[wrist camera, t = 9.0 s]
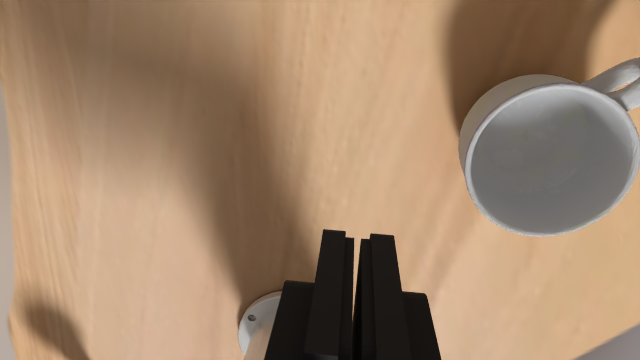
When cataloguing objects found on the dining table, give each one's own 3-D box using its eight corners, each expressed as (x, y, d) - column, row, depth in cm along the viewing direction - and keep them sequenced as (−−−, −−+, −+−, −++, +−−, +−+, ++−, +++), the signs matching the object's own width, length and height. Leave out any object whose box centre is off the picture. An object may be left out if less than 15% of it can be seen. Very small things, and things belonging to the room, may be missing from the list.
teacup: (487, 210, 39) (514, 263, 32) (421, 114, 36) (435, 148, 29) (648, 122, 34) (723, 160, 27) (589, 4, 31) (656, 12, 24)
